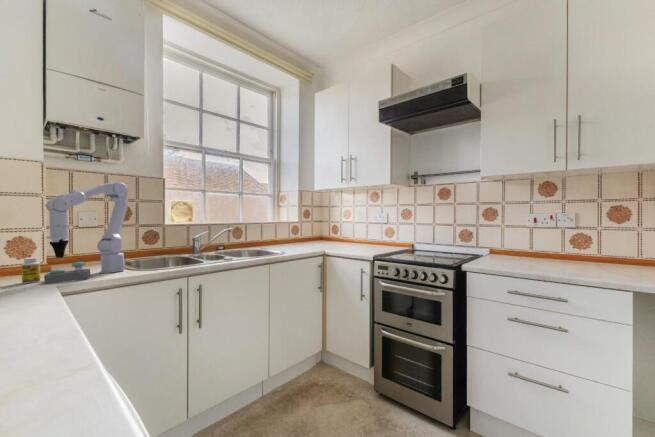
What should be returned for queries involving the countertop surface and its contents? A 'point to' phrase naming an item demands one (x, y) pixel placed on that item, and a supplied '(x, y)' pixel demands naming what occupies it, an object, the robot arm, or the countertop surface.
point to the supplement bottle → (30, 270)
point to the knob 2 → (78, 266)
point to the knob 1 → (57, 271)
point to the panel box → (67, 276)
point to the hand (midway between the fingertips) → (59, 257)
